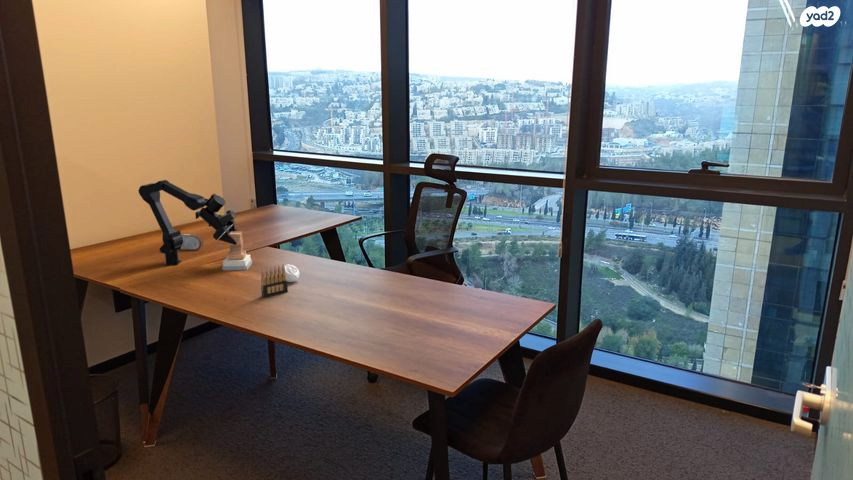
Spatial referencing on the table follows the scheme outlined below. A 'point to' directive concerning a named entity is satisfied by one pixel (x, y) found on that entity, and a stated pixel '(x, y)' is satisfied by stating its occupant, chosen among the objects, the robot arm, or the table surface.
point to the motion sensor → (291, 273)
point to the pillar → (236, 247)
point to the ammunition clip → (273, 282)
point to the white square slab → (236, 261)
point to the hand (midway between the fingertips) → (238, 241)
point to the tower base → (238, 267)
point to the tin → (191, 242)
